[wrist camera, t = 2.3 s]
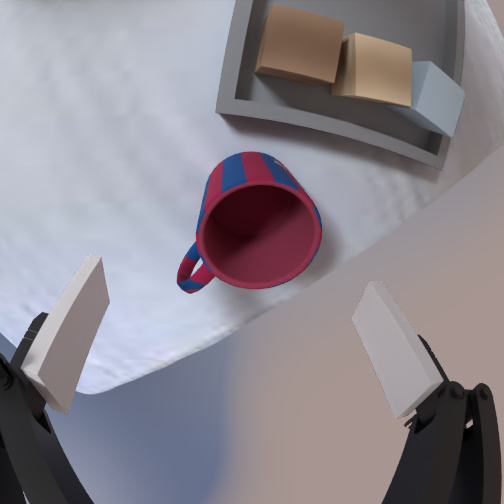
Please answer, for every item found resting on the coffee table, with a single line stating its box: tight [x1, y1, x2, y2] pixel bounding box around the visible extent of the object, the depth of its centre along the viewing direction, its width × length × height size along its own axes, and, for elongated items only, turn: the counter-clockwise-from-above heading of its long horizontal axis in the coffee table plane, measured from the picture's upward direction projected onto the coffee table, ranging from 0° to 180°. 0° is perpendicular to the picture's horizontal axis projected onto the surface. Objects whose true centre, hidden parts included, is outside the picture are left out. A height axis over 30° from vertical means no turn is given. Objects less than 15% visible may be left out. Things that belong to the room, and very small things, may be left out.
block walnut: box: [254, 4, 345, 86], centre depth 12 cm, size 4×4×4 cm
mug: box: [177, 152, 322, 294], centre depth 17 cm, size 7×10×7 cm
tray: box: [215, 0, 465, 171], centre depth 11 cm, size 22×18×2 cm
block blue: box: [384, 61, 466, 138], centre depth 14 cm, size 4×4×4 cm
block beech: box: [331, 33, 412, 107], centre depth 13 cm, size 4×4×4 cm
